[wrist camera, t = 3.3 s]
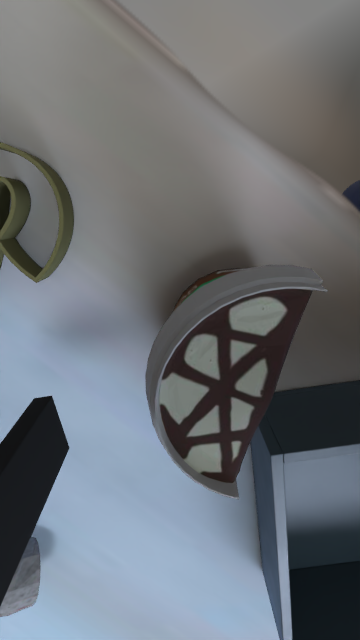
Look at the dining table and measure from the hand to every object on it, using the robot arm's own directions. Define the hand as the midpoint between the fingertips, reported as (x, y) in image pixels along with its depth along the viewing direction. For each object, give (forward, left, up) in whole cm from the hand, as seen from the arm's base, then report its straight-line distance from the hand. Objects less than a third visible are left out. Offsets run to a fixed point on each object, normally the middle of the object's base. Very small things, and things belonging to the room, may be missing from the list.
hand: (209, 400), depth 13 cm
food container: (0, 0, -11) cm, 11 cm away
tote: (-12, +18, -11) cm, 24 cm away
